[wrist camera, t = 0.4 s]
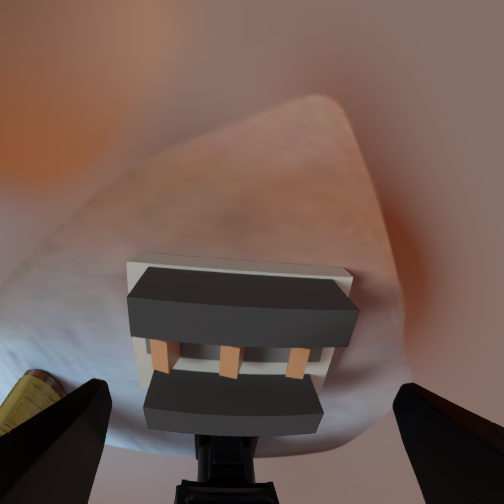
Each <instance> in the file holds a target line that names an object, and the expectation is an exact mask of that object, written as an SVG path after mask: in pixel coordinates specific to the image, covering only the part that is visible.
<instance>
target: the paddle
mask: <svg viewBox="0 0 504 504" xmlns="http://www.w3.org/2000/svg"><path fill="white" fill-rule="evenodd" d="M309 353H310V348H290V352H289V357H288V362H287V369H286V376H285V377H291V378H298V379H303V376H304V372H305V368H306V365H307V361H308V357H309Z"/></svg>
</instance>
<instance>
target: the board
mask: <svg viewBox="0 0 504 504" xmlns="http://www.w3.org/2000/svg"><path fill="white" fill-rule="evenodd" d="M148 266H150V267H161V268H173V269H186V270H198V271H211V272H225V273H239V274H253V275H269V276H285V277H302V278H320V279H333V280H334V281H335V282H336V283H337V285H338V286H339V287H340V288H341V289H342V291H343V292H344V293H345V294H346V295H347V297H349V293H350V289H351V285H352V281H353V277H352V276H351V275H350V274H349V273H348V272H347V271H346V270H345V269H344V268H343V267H331V266H315V265H301V264H286V263H272V262H258V261H244V260H230V259H217V258H204V257H191V256H178V255H165V254H152V253H140V252H135V253H134V254H133V255H132V256H131V257H130V258H129V259H128V261H127V279H128V294H129V293H130V292H131V290H132V289H133V287H134V286H135V284H136V283H137V282H138V280H139V279H140V277H141V276H142V275H143V273H144V272H145V270H146V269H147V268H148ZM133 343H134V350H135V357H136V364H137V370H138V376H139V382H140V387H141V388H149V385H150V381H151V378H152V375H153V372H154V369H153V365H152V357H151V347H150V339H146V338H138V337H133ZM334 349H335V347H328V348H310V353H309V357H308V361H307V365H306V368H305V372H304V374H310V377H311V379H312V382H313V385H314V388H315V390H316V393H317V395H320V392H321V389H322V386H323V383H324V380H325V377H326V374H327V371H328V368H329V365H330V362H331V359H332V355H333V352H334ZM220 350H221V346H219V345H205V344H193V343H182V342H180V358H179V360H178V361H177V363H176V364H175V365H174V367H173V368H172V369H179V370H189V371H201V372H215V373H219V368H220ZM289 352H290V348H264V347H245V348H244V357H243V363H242V366H241V368H240V371H239V374H286V369H287V362H288V357H289Z"/></svg>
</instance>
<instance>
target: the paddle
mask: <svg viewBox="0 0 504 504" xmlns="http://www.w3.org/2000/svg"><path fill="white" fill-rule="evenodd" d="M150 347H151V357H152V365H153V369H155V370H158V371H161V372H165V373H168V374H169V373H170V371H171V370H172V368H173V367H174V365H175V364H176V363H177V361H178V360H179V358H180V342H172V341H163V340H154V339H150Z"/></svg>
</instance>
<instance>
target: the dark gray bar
mask: <svg viewBox="0 0 504 504" xmlns="http://www.w3.org/2000/svg"><path fill="white" fill-rule="evenodd" d="M127 303H128V314H129V323H130V332H131V337H138V338H146V339H154V340H163V341H172V342H182V343H193V344H205V345H219V346H237V347H264V348H328V347H348V345H349V342H350V339H351V335H352V332H353V329H354V325H355V322H356V319H357V315H358V312H359V310H358V309H357V307H356V306H355V305H354V304H353V303H352V301H351V300H350V299H349V298H348V297H347V295H346V294H345V293H344V292H343V291H342V289H341V288H340V287H339V286H338V285H337V283H336V282H335V281H334V280H333V279H320V278H302V277H285V276H269V275H253V274H239V273H225V272H211V271H198V270H186V269H173V268H161V267H150V266H148V268H147V269H146V270H145V272H144V273H143V275H142V276H141V277H140V279H139V280H138V282H137V283H136V284H135V286H134V287H133V289H132V290H131V292H130V293H129V294H128V296H127Z"/></svg>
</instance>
